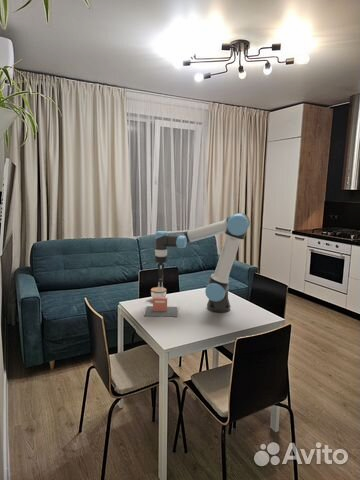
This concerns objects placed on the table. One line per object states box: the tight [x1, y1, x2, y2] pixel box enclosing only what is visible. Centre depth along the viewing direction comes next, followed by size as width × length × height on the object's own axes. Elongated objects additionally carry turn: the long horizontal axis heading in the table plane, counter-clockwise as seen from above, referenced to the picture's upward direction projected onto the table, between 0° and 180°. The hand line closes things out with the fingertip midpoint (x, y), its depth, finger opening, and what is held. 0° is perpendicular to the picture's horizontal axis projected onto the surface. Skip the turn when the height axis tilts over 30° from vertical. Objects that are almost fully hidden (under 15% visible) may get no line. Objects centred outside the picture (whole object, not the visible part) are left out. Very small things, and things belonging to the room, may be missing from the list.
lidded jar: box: [150, 286, 167, 299], centre depth 225 cm, size 11×11×9 cm
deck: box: [152, 297, 168, 311], centre depth 204 cm, size 2×9×8 cm, turn 91°
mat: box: [143, 305, 178, 318], centre depth 204 cm, size 20×16×1 cm
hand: (160, 288), depth 207 cm, fingers open, 13 cm apart
